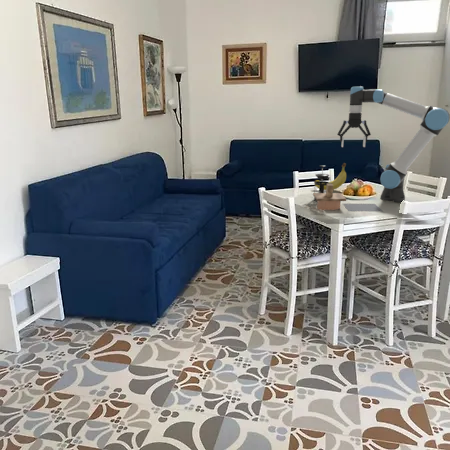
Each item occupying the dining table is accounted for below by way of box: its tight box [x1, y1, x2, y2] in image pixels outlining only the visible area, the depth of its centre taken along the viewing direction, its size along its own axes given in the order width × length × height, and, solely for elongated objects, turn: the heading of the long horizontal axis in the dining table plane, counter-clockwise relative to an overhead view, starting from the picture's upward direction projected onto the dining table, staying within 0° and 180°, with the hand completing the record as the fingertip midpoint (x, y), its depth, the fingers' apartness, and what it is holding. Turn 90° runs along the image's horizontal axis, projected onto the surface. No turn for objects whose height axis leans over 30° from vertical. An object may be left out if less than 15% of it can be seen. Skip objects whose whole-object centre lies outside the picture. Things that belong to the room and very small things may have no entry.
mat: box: [342, 203, 383, 212], centre depth 270 cm, size 20×20×1 cm
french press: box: [313, 165, 332, 202], centre depth 291 cm, size 12×9×23 cm
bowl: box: [316, 201, 342, 211], centre depth 271 cm, size 13×13×6 cm
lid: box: [312, 184, 347, 202], centre depth 269 cm, size 17×17×8 cm
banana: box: [313, 162, 347, 191], centre depth 323 cm, size 23×6×20 cm, turn 78°
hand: (353, 146), depth 283 cm, fingers open, 13 cm apart
